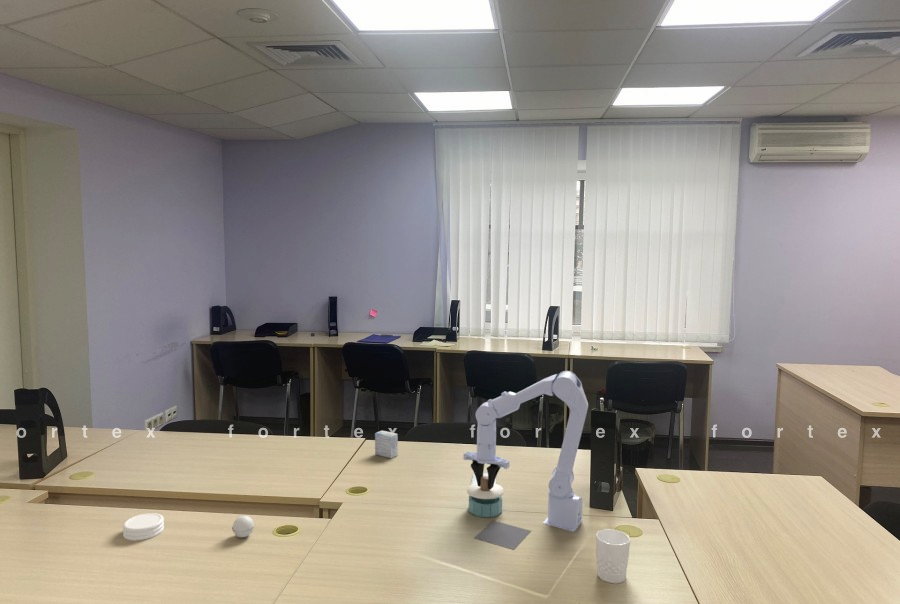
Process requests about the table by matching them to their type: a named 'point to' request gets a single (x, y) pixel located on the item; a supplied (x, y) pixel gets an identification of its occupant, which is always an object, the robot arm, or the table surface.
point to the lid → (485, 490)
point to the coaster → (143, 526)
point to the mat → (502, 535)
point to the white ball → (243, 526)
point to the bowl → (485, 506)
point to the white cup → (612, 555)
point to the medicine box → (386, 444)
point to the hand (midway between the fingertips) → (485, 486)
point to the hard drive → (476, 480)
